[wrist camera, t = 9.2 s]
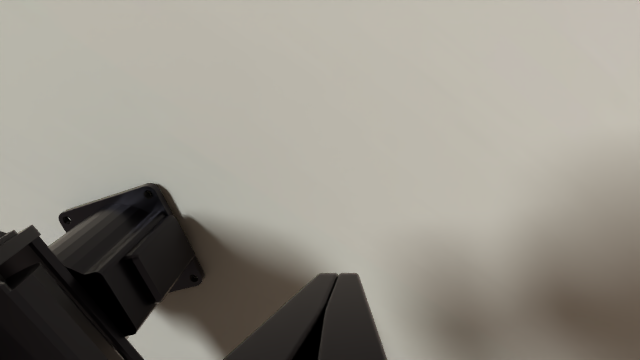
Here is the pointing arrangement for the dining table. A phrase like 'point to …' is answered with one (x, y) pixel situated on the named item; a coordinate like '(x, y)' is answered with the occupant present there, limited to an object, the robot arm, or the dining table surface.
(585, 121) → the dining table surface
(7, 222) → the dining table surface
